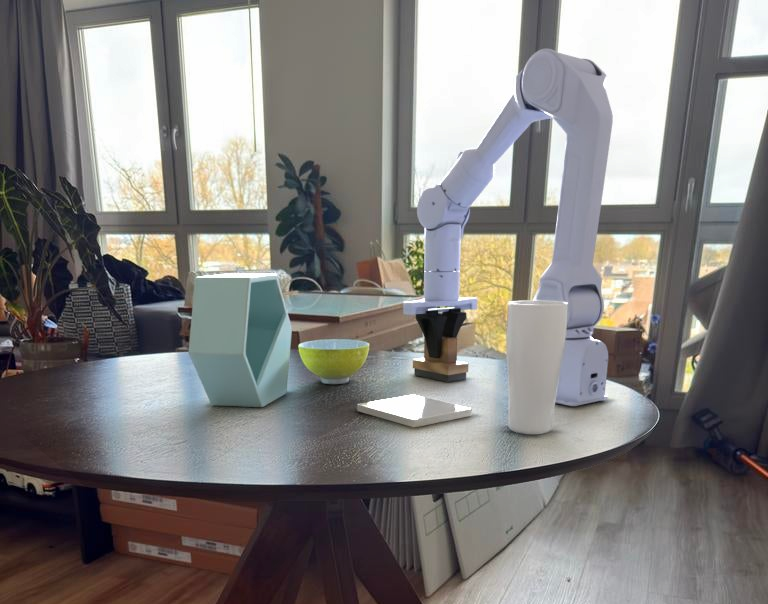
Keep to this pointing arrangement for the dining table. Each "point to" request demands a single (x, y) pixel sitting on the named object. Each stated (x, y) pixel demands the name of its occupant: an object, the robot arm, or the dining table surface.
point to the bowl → (334, 358)
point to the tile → (414, 410)
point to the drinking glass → (534, 362)
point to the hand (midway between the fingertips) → (440, 356)
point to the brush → (441, 363)
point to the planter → (240, 338)
